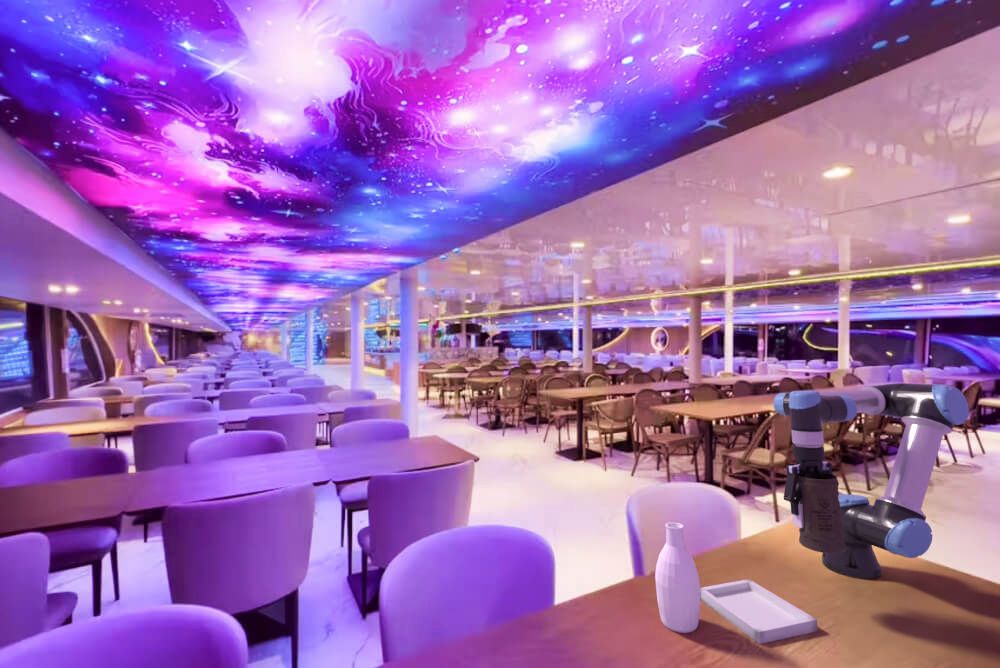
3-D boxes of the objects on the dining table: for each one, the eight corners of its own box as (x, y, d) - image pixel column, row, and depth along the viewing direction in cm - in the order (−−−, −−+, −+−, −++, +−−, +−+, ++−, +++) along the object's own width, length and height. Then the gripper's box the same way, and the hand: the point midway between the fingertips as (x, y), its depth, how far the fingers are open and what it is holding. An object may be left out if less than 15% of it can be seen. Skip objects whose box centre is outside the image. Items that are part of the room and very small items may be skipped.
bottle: (681, 641, 111) (676, 536, 112) (647, 618, 120) (643, 522, 122) (711, 627, 116) (706, 527, 117) (676, 607, 126) (672, 515, 127)
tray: (749, 588, 135) (748, 579, 135) (817, 630, 113) (816, 619, 113) (698, 598, 130) (697, 588, 130) (759, 644, 109) (758, 632, 109)
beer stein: (857, 555, 118) (847, 477, 120) (813, 554, 120) (804, 478, 122) (824, 535, 133) (816, 467, 135) (785, 535, 135) (778, 467, 137)
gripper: (825, 439, 135) (831, 514, 134) (765, 445, 129) (770, 524, 128) (850, 444, 128) (857, 523, 126) (787, 450, 122) (793, 534, 121)
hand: (813, 524), depth 127 cm, fingers closed on beer stein, 10 cm apart
